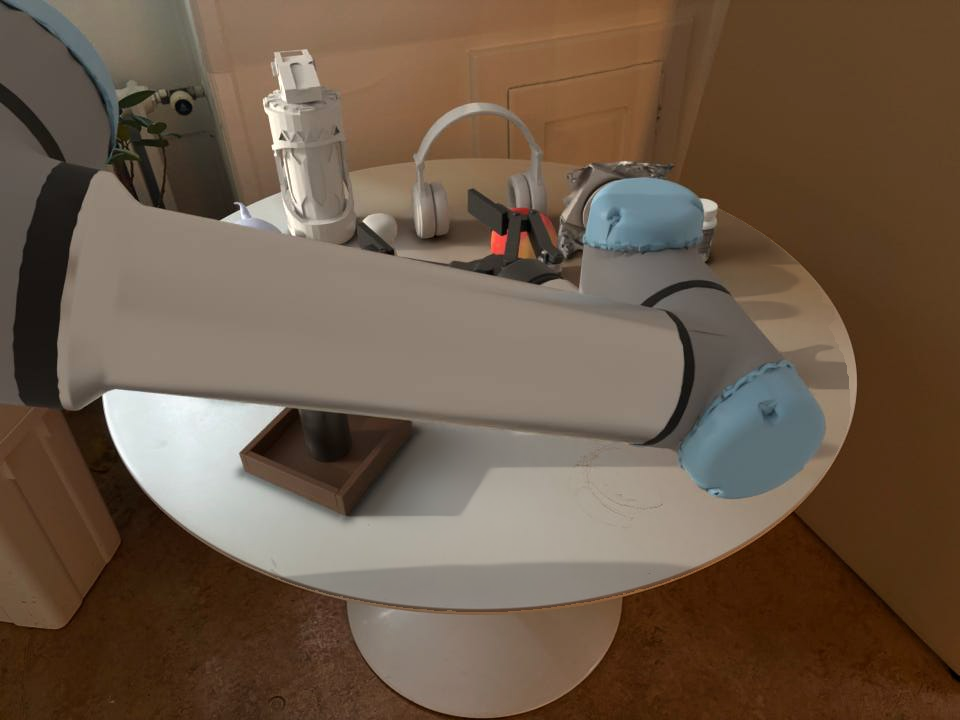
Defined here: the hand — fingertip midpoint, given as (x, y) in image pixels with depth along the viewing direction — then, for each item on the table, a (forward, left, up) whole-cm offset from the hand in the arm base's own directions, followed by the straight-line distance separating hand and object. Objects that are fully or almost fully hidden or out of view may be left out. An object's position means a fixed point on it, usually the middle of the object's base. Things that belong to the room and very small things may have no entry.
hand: (417, 216), depth 74 cm
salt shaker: (-9, +5, -18) cm, 20 cm away
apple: (+4, +20, -19) cm, 28 cm away
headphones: (-8, +30, -19) cm, 36 cm away
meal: (+12, +34, -19) cm, 41 cm away
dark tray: (-1, -19, -19) cm, 27 cm away
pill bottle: (+24, +37, -19) cm, 48 cm away
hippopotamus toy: (-28, +2, -19) cm, 33 cm away
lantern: (-30, +19, -19) cm, 40 cm away
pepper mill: (-1, -19, -18) cm, 26 cm away
